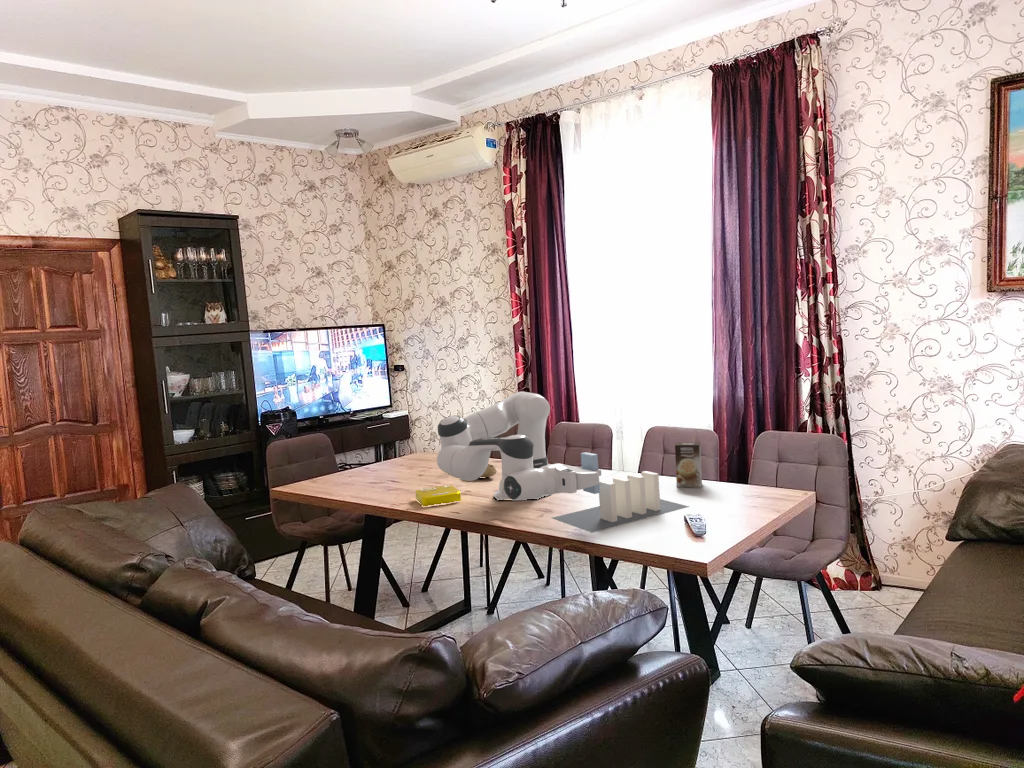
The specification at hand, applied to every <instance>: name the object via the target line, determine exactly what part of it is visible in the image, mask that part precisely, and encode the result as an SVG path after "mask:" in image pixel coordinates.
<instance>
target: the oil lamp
mask: <svg viewBox="0 0 1024 768" xmlns="http://www.w3.org/2000/svg"><path fill="white" fill-rule="evenodd" d="M497 472H498V471H497V469H496V467H495V465H493V464H490V463H488V467H487V469H486V471H485V472H484V474H483V475H482V476H481V477H493V476H495V475H496V474H497ZM479 478H480V477H479Z"/></svg>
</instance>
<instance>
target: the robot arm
mask: <svg viewBox="0 0 1024 768" xmlns="http://www.w3.org/2000/svg"><path fill="white" fill-rule="evenodd" d="M550 412H551V406H550V403H549V401H548V400H547V399H546V397H544V396H542V395H541V394H539V393H535V392H527V391H517V392H515V393H513V394H511V395H509V396H507V397H505V398H504V399H502V400H500V401H499V402H497V403H495V404H492V405H491V406H488V407H486V408H483V409H481V410H479V411H476V412H473V413H471V414H469V415H467V416H464V417H463V416H460V415H451V416H448V417H445V418H443V419H442V420H441V419H440V421H439V423H438V425H437V434H438V436H439V441H440V445H441V449H440V450H439V451H438V453H437V456H436V462H437V466H438V468H439V469H440V470H441V471H442V472H444V473H445V474H447V475H448V476H451V477H453V478H456V479H460V480H462V481H470V482H471V481H476V480H479V479H478V478H479V477H481V476H482V475H483V474H484V472H485V471H486V469H487V467H488V464H489V461H490V456H491V453H492V451H494V452H495V451H497V452H498V451H499V453H500V457H501V479H500V481H499V485H498V490H496V491H494V493H493V498H494V497H495V498H496V499H499V500H501V499H502V500H503V499H512V501H528V500H527V499H537V500H540V499H542V498H545V497H548V496H551V495H556V494H575V493H577V492H578V491H580V490H583V489H585V488H589V487H592V486H595V485H597V484H598V483H599V481H600V477H601V476H602V470H601V469H599V470H594V471H591V470H586V469H582V465H581V466H573V465H568V464H564V463H559V462H557V463H556V462H555V463H552V464H549V461H548V456H547V455H546V454H547V453H546V427H547V420H548V417H549V415H550ZM516 425H518V428H517V433H516V434H512V435H509V436H500V435H502V434H503V435H504V434H505V433H507V432H508V431H509V430H511V428H513V427H514V426H516ZM544 496H545V497H544ZM541 497H542V498H541ZM539 498H540V499H539Z"/></svg>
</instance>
